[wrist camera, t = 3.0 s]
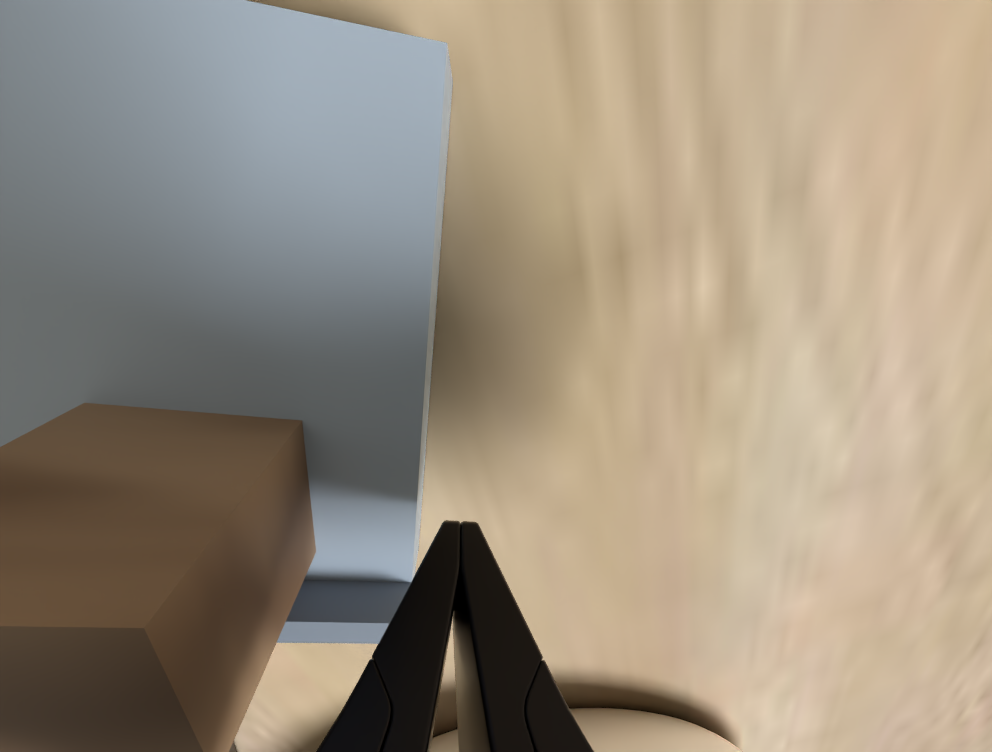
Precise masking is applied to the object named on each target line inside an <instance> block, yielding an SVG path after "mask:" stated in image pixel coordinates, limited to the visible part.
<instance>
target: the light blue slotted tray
mask: <svg viewBox="0 0 992 752" xmlns="http://www.w3.org/2000/svg"><path fill="white" fill-rule="evenodd" d="M452 86H453V79H452V72H451V66H450V59H449V52H448V46H447V43H445V42H440V41H435V40H430V39H426V38H421V37H416V36H412V35H407V34H402V33H398V32H393V31H388V30H383V29H379V28H374V27H369V26H365V25H360V24H355V23H351V22H346V21H341V20H336V19H332V18H327V17H322V16H318V15H313V14H308V13H303V12H299V11H294V10H289V9H285V8H280V7H275V6H271V5H266V4H261V3H256V2H252V1H247V0H0V447H1V446H3V445H5V444H7V443H9V442H11V441H12V440H14V439H16V438H18V437H20V436H22V435H24V434H26V433H28V432H30V431H31V430H33V429H35V428H37V427H39V426H41V425H43V424H45V423H47V422H49V421H50V420H52V419H54V418H56V417H58V416H60V415H62V414H64V413H66V412H68V411H69V410H71V409H73V408H75V407H77V406H79V405H81V404H83V403H94V404H106V405H119V406H131V407H143V408H156V409H168V410H180V411H192V412H205V413H217V414H229V415H241V416H254V417H266V418H278V419H290V420H302V424H303V433H304V443H305V452H306V461H307V471H308V480H309V489H310V498H311V508H312V517H313V526H314V536H315V545H316V553H315V556H314V558H313V560H312V563H311V565H310V567H309V569H308V572H307V574H306V576H305V579H304V581H303V583H302V585H301V588H300V590H299V592H298V595H297V597H296V599H295V601H294V604H293V606H292V608H291V611H290V613H289V615H288V617H287V620H286V622H285V624H284V627H283V629H282V631H281V633H280V636H279V638H278V640H277V643H371V644H379V642H380V640H381V638H382V636H383V634H384V632H385V631H386V629H387V627H388V625H389V623H390V621H391V619H392V617H393V615H394V614H395V612H396V610H397V608H398V606H399V604H400V602H401V600H402V599H403V597H404V595H405V593H406V591H407V589H408V587H409V585H410V583H411V582H412V580H413V578H414V575H415V569H416V562H417V555H418V548H419V535H420V521H421V508H422V494H423V481H424V467H425V453H426V440H427V426H428V412H429V399H430V385H431V372H432V358H433V344H434V331H435V317H436V304H437V290H438V276H439V263H440V249H441V236H442V222H443V208H444V195H445V181H446V168H447V154H448V140H449V127H450V113H451V99H452Z"/></svg>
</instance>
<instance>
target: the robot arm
mask: <svg viewBox="0 0 992 752" xmlns="http://www.w3.org/2000/svg"><path fill="white" fill-rule="evenodd" d="M452 617H453V639H454V660H455V681H456V702H457V724H458V745H459V752H594V750H593V749H592V747H591V745H590V744H589V742H588V740H587V739H586V737H585V735H584V734H583V732H582V730H581V728H580V727H579V725H578V723H577V722H576V720H575V718H574V716H573V715H572V713H571V711H570V709H569V708H568V706H567V704H566V702H565V700H564V698H563V696H562V694H561V692H560V690H559V688H558V686H557V684H556V682H555V681H554V679H553V676H552V674H551V672H550V670H549V668H548V666H547V664H546V662H545V661H544V660H542V658H543V656H542V654H541V652H540V650H539V648H538V646H537V644H536V642H535V640H534V638H533V636H532V634H531V632H530V630H529V627H528V625H527V623H526V621H525V619H524V617H523V615H522V613H521V611H520V609H519V607H518V605H517V603H516V601H515V599H514V597H513V595H512V593H511V590H510V588H509V586H508V584H507V582H506V580H505V578H504V576H503V574H502V572H501V570H500V568H499V566H498V564H497V562H496V560H495V558H494V555H493V553H492V551H491V549H490V547H489V545H488V543H487V541H486V539H485V537H484V535H483V533H482V531H481V529H480V527H479V525H478V523H476V522H467V521H463V522H461V524H460V522H459V521H448V520H446V521H444V522H443V523H442V525H441V527H440V529H439V531H438V533H437V534H436V536H435V538H434V540H433V542H432V544H431V546H430V548H429V550H428V551H427V553H426V555H425V557H424V559H423V561H422V563H421V565H420V567H419V568H418V570H417V572H416V574H415V576H414V578H413V580H412V582H411V583H410V585H409V587H408V589H407V591H406V593H405V595H404V597H403V599H402V600H401V602H400V604H399V606H398V608H397V610H396V612H395V614H394V615H393V617H392V619H391V621H390V623H389V625H388V627H387V629H386V631H385V632H384V634H383V636H382V638H381V640H380V642H379V644H378V646H377V648H376V649H375V651H374V653H373V655H372V659H371V660H369V662H368V664H367V666H366V668H365V670H364V672H363V673H362V675H361V677H360V679H359V681H358V683H357V684H356V686H355V688H354V690H353V692H352V693H351V695H350V697H349V699H348V700H347V702H346V704H345V706H344V707H343V709H342V711H341V713H340V714H339V716H338V717H337V719H336V721H335V722H334V724H333V725H332V727H331V729H330V730H329V732H328V733H327V735H326V737H325V738H324V740H323V741H322V743H321V745H320V746H319V748H318V749H317V751H316V752H430V748H431V742H432V736H433V730H434V724H435V718H436V712H437V707H438V701H439V695H440V689H441V683H442V677H443V671H444V665H445V660H446V654H447V648H448V642H449V636H450V630H451V624H452ZM229 752H237V751H236V748H235V746H234V743H232V745H231V748H230V750H229Z"/></svg>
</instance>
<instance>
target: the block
mask: <svg viewBox="0 0 992 752" xmlns="http://www.w3.org/2000/svg"><path fill="white" fill-rule="evenodd" d="M315 553H316V545H315V536H314V526H313V517H312V508H311V498H310V489H309V480H308V471H307V461H306V452H305V443H304V433H303V424H302V420H290V419H278V418H266V417H254V416H241V415H229V414H217V413H205V412H192V411H180V410H168V409H156V408H143V407H131V406H119V405H106V404H94V403H83V404H81V405H79V406H77V407H75V408H73V409H71V410H69V411H68V412H66V413H64V414H62V415H60V416H58V417H56V418H54V419H52V420H50V421H49V422H47V423H45V424H43V425H41V426H39V427H37V428H35V429H33V430H31V431H30V432H28V433H26V434H24V435H22V436H20V437H18V438H16V439H14V440H12V441H11V442H9V443H7V444H5V445H3V446H1V447H0V752H229V750H230V748H231V745H232V743H233V741H234V739H235V736H236V734H237V732H238V729H239V727H240V725H241V723H242V720H243V718H244V716H245V713H246V711H247V709H248V707H249V704H250V702H251V700H252V697H253V695H254V693H255V691H256V688H257V686H258V684H259V681H260V679H261V677H262V675H263V672H264V670H265V668H266V665H267V663H268V661H269V659H270V656H271V654H272V652H273V649H274V647H275V645H276V643H277V640H278V638H279V636H280V633H281V631H282V629H283V627H284V624H285V622H286V620H287V617H288V615H289V613H290V611H291V608H292V606H293V604H294V601H295V599H296V597H297V595H298V592H299V590H300V588H301V585H302V583H303V581H304V579H305V576H306V574H307V572H308V569H309V567H310V565H311V563H312V560H313V558H314V556H315Z"/></svg>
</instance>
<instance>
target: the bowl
mask: <svg viewBox="0 0 992 752" xmlns="http://www.w3.org/2000/svg"><path fill="white" fill-rule="evenodd" d="M570 711H571V713H572V715H573V716H574V718H575V720H576V722H577V723H578V725H579V727H580V728H581V730H582V732H583V734H584V735H585V737H586V739H587V740H588V742H589V744H590V745H591V747H592V749H593V750H594V752H743V751H742V750H740V749H739V748H737V747H736V746H735V745H733V744H732V743H730V742H729V741H727V740H726V739H724V738H722V737H721V736H719V735H717V734H715V733H713V732H711V731H709V730H707V729H705V728H703V727H700V726H698V725H695V724H693V723H690V722H687V721H684V720H681V719H677V718H674V717H670V716H666V715H661V714H656V713H650V712H644V711H637V710H627V709H613V708H574V709H570ZM430 752H459V745H458V729H456V730H453V731H450V732H447V733H444V734H442V735H439V736H437V737H434V738H432V742H431V748H430Z"/></svg>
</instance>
